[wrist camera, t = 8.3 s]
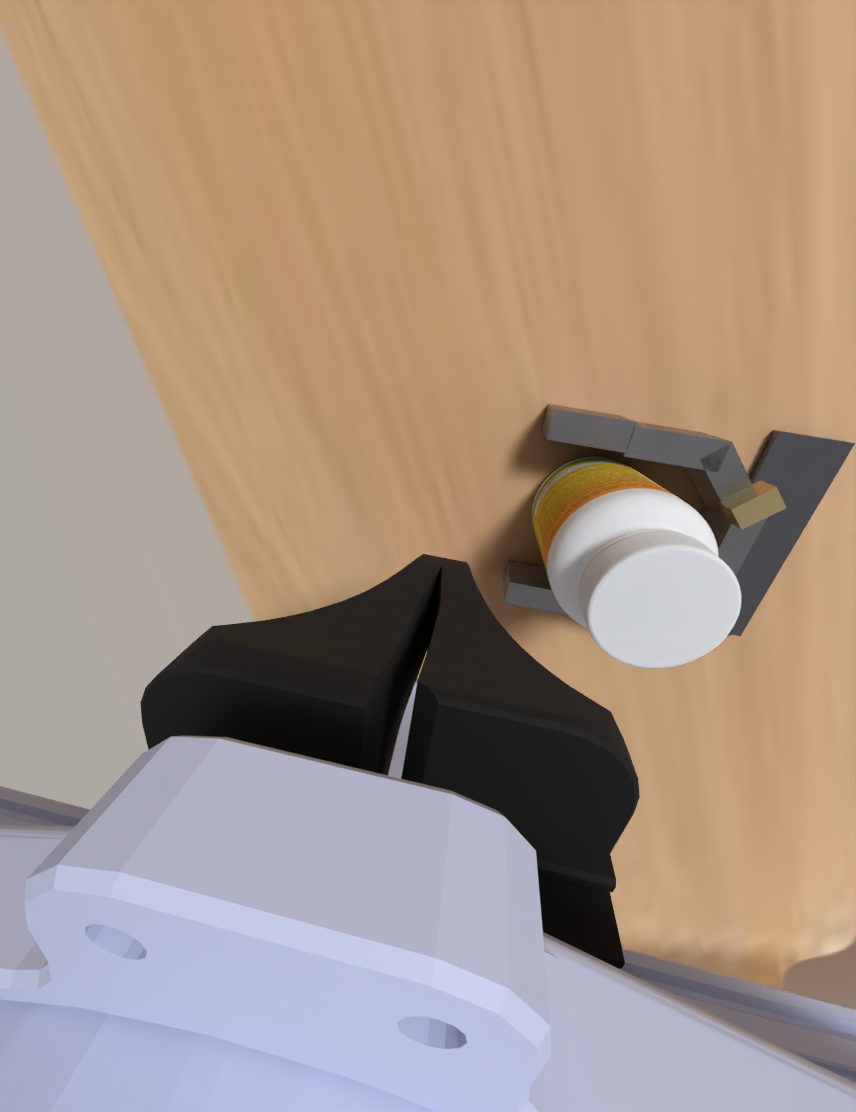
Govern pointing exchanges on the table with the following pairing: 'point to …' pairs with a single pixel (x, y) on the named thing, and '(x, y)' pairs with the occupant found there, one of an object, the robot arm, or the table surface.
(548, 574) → the supplement bottle
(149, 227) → the table surface
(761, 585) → the socket
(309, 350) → the table surface
